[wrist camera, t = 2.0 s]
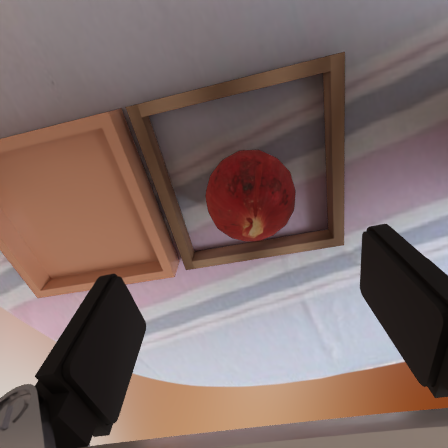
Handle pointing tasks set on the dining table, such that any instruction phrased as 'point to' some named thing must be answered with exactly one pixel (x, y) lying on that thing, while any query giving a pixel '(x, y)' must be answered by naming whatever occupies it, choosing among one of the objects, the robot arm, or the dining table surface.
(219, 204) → the onion
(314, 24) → the dining table surface
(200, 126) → the dining table surface
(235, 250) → the walnut frame
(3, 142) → the terracotta tray
